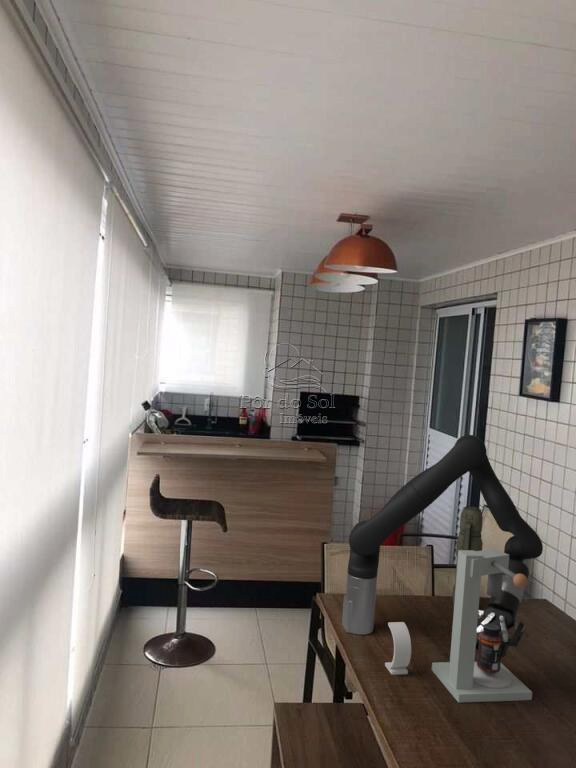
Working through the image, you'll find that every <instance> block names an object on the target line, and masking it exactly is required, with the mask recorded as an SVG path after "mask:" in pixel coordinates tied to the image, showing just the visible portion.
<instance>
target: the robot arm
mask: <svg viewBox="0 0 576 768" xmlns="http://www.w3.org/2000/svg"><path fill="white" fill-rule="evenodd" d="M467 473H469V474H470V475H471V477H472V478H473V480H474V481H475V483H476V485H477V487H478V489H479V491H480V493H481V495H482V496H483V499H484V500H483V501H485V504H486V505H487V508H488V510H489V512H490V513H491V515H492V517H493V519H494V521H495V522H496V525H497V527H498V528H499V529H500V530H501V531H503V532H506V533H510V534H512V535H513V536H511V537H509V538H508V539H507V541H506V542H505V545H504V549H503V550H504V551H503V553H506V554H509V566H508V570H510V571H511V572H513V573H515V574H523V575H525V576H526V578H527V579H528V578H529V574H530V570H529V567H528V566H527V565H526V564H525V563H524V560H525V561H526V560H533V559H536V558H537V559H538V558H540V556H541V555H543V551H544V546H543V542H542V539H541V538H540V536H539V535H538V534H537V532H536V531H535V530H534V529H533V528H532V526H531V525H529V524H528V523H527V521H526V520H525V519H524V518H523V517H522V516H521V514H520V512H519V510H518V509H517V507H516V505H515V503H514V502H513V500H512V498H511V497H510V495H509V493H508V492H507V490H506V489H505V487H504V486H503V484H502V483H501V482H500V480H499V478H498V477H497V475H496V472H495V471H494V469H493V467H492V465H491V462H490V459H489V457H488V454H487V447H486V443H484V441H483V440H482V439H481V438H479V437H478V436H476V435H473V434H465V435H462V436H460V437H459V438H458V439H457V440H456V442H455V443H454V446H452V448H451V449H450V450H449V451H448V452H446V454H445V455H443V457H441V459H440V460H438V462H436V463H434V464H433V465H432V466H429V467H428V468H426V469H425V470H423V471H421V472H420V473H418V474H417V475H415V476H414V477H412V478H411V479H410V480H409V481H408V482H406V483H405V484H404V485H403V486H401V488H400V489H398V490H397V491H396V493H394V495H392V497H391V498H390V499H389V500H388V501H387V503H386V504H385V505H384V506H383V507H382V508H381V510H379V511H378V512H377V513H376V514H375V515H373V516H372V517H371V518H370V519H368V520H362V521H359V522H357V523H356V524H355V525H354V526H353V528H352V529H351V531H350V534H349V536H348V544H349V547H350V549H349V557H348V558H349V559H348V563H347V578H346V589H345V590H346V591H345V594H344V595H343V602H342V603H343V604H342V616H341V617H342V618H341V626H342V627H343V629H344V630H345V632H346V633H349V634H350V633H351V634H355V635H363V636H364V635H369V634H372V633H373V631H374V625H375V612H376V611H375V609H376V596H377V581H378V572H379V562H380V549H381V546H382V544H383V543H384V542H386V540H387V539H388V538H390V537H391V535H392V534H393V533H395V531H397V530H399V529H400V528H401V527H402V526H405V525H406V524H407V523H409V522H410V521H411V520H412V519H414V518H416V517H417V516H418V515H420V514H421V513H422V512H423V511H425V510H426V509H427V508H429V506H431V505H432V504H433V503H434V502H435V501H436V500H437V499H438V498H440V496H441V495H443V494H444V493H445V491H447V489H448V488H450V486H451V485H452V484H453V483H454V482H456V481H457V480H458V479H460V478H461V477H463V476H464V475H465V474H467ZM524 589H525V587H523V588H519V587H517V586H516V585H515V584H514V582H513V579H512V578H510V577H509V576H507V575H505V574H504V573H503V578H502V590H501V597H493V596H490V598H489V601H488V603H487V607H486V608H485V609H484V610H482V609H481V610H480V609H479V610H478V623H477V636H476V649H475V651H478V641H479V634H480V632H482V631H484V630H483V627H484V624H487V623H489V624H494V625H497V626H498V627H499V634H500V633H501V634H502V635H501V636H502V639H503V640H502V642H501V645H500V648H499V651H498V657H499V658H501V660H502V659H503V658H505V657H506V656H507V655H506V654H507V652H508V649H509V647H511V646H513V647H515V648H516V647H517V646H518V645H519V643H520V641H521V639H522V637H523V635H524V633H525V631H526V626H525V624H524V623H523V622H518V621H516V617H517V614H518V611H519V610H520V605H521V603H522V601H523V596H524V591H525V590H524ZM483 617H484V620H483V621H482V622H480V625H479V621H480V619H482V618H483ZM478 625H479V626H478ZM513 627H514V629H515V630H514V633H513V635H512V636H511V638H510V637H509V636H510V634H509V631H508V630H510V629H512V628H513Z"/></svg>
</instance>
